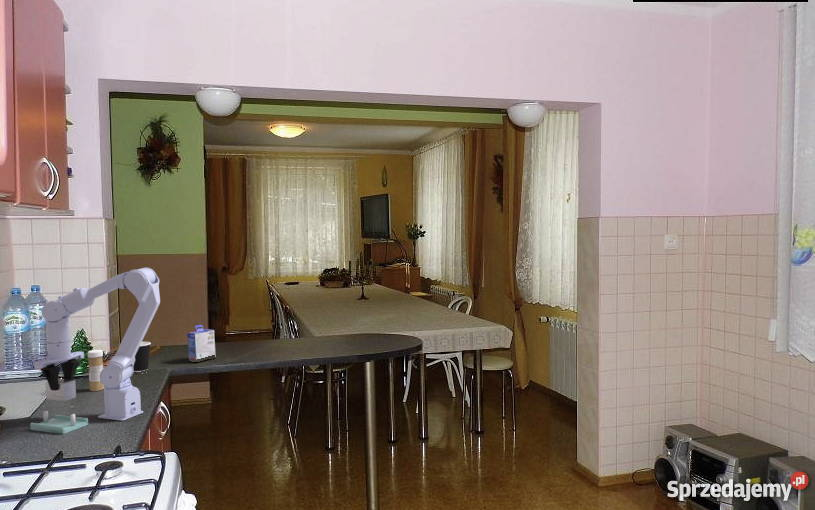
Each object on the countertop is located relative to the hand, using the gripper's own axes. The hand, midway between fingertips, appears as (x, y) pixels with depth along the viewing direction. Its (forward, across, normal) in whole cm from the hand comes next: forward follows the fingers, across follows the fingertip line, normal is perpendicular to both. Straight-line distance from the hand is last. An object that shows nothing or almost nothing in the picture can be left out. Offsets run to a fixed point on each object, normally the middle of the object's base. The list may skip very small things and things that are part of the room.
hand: (61, 388), depth 176 cm
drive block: (+3, 0, 0) cm, 3 cm away
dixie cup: (+9, -50, -20) cm, 55 cm away
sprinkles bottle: (+9, -26, -16) cm, 32 cm away
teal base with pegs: (+9, +6, +6) cm, 13 cm away
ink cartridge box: (+9, -73, -11) cm, 75 cm away
